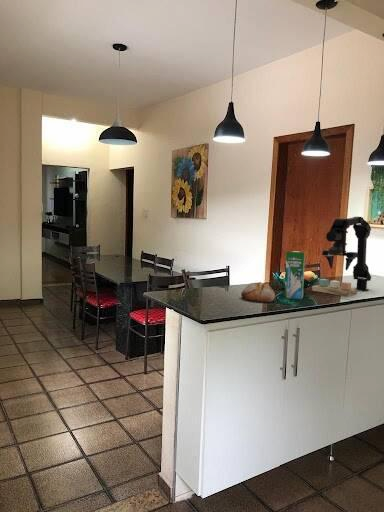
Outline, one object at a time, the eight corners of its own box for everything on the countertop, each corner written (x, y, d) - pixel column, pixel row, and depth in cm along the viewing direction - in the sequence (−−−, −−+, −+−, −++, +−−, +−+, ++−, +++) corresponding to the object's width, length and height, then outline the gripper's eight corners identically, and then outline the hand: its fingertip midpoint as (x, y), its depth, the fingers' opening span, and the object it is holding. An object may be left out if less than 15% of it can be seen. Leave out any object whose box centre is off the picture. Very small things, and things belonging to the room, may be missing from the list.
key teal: (322, 284, 246) (322, 278, 246) (328, 285, 243) (328, 279, 243) (318, 285, 243) (319, 279, 243) (324, 286, 240) (325, 280, 240)
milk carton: (303, 296, 223) (305, 250, 221) (301, 299, 215) (304, 252, 212) (286, 295, 226) (288, 250, 224) (284, 298, 218) (286, 251, 215)
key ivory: (333, 286, 241) (333, 280, 241) (339, 287, 238) (339, 281, 238) (329, 287, 238) (329, 280, 238) (335, 288, 235) (336, 281, 235)
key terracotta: (344, 288, 236) (344, 281, 235) (350, 289, 233) (351, 282, 232) (340, 288, 233) (341, 282, 233) (347, 289, 230) (347, 283, 230)
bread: (258, 306, 201) (258, 286, 200) (234, 299, 218) (234, 280, 216) (283, 301, 209) (283, 282, 208) (258, 294, 226) (258, 276, 225)
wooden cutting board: (322, 288, 251) (323, 284, 250) (357, 293, 234) (357, 289, 234) (311, 290, 243) (312, 286, 242) (346, 296, 226) (347, 291, 226)
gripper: (317, 240, 228) (315, 268, 229) (348, 242, 214) (347, 272, 215) (328, 240, 235) (326, 267, 237) (359, 242, 221) (357, 270, 223)
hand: (338, 269), depth 228 cm, fingers open, 9 cm apart
